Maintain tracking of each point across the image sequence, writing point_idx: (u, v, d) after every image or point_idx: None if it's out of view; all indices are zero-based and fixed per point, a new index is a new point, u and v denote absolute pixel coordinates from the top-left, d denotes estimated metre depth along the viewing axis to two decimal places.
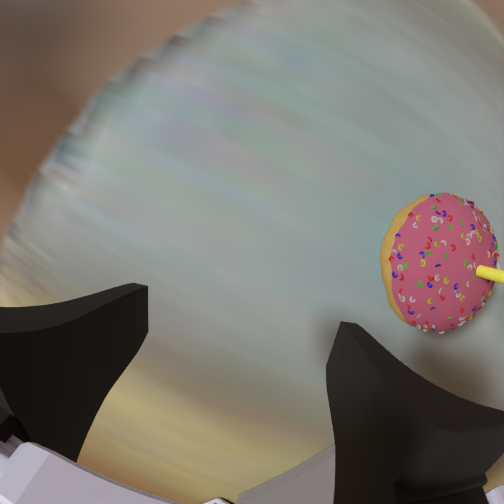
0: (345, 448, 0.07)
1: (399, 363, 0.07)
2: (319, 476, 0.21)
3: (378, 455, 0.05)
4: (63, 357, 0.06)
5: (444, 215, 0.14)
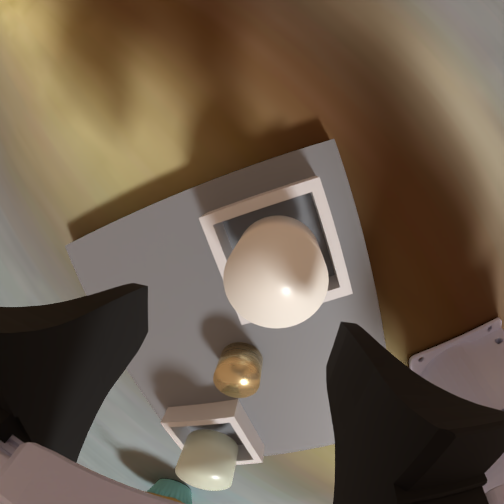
0: (345, 448, 0.07)
1: (399, 363, 0.07)
2: (288, 443, 0.23)
3: (378, 455, 0.05)
4: (63, 357, 0.06)
5: None
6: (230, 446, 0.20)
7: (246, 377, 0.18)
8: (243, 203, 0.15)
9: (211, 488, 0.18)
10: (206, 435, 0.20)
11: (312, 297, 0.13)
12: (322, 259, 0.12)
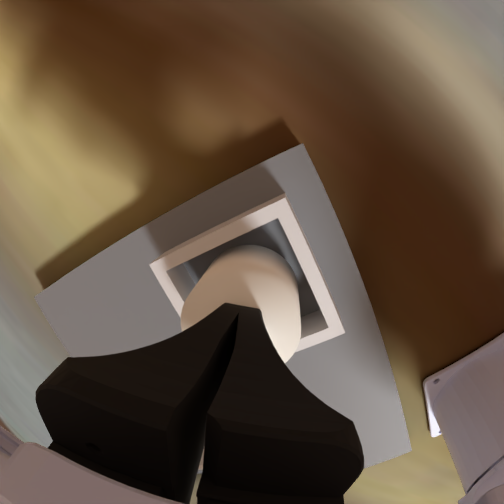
0: None
1: (269, 348, 0.07)
2: None
3: None
4: (201, 403, 0.06)
5: None
6: None
7: None
8: (196, 242, 0.12)
9: None
10: None
11: (284, 342, 0.11)
12: (289, 300, 0.10)
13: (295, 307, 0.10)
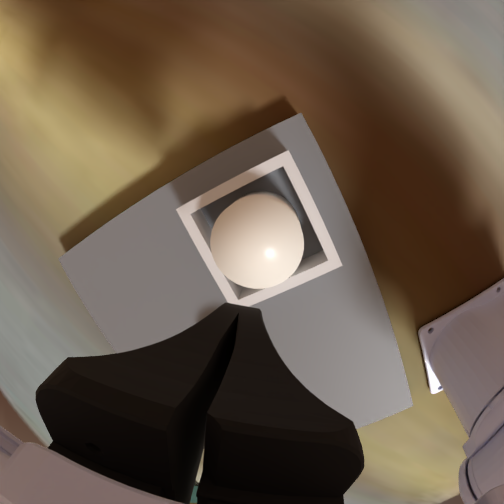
0: None
1: (269, 348, 0.07)
2: None
3: None
4: (201, 403, 0.06)
5: None
6: None
7: None
8: (216, 188, 0.15)
9: None
10: None
11: (291, 254, 0.14)
12: (294, 218, 0.14)
13: (298, 224, 0.14)
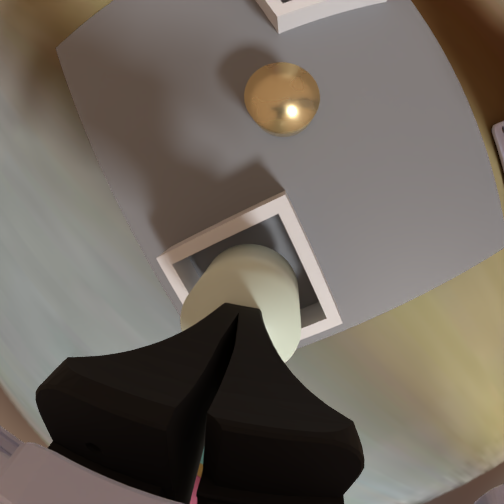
0: None
1: (269, 348, 0.07)
2: (374, 291, 0.15)
3: None
4: (201, 403, 0.06)
5: None
6: (285, 265, 0.13)
7: (297, 83, 0.10)
8: None
9: None
10: (239, 248, 0.13)
11: None
12: None
13: None
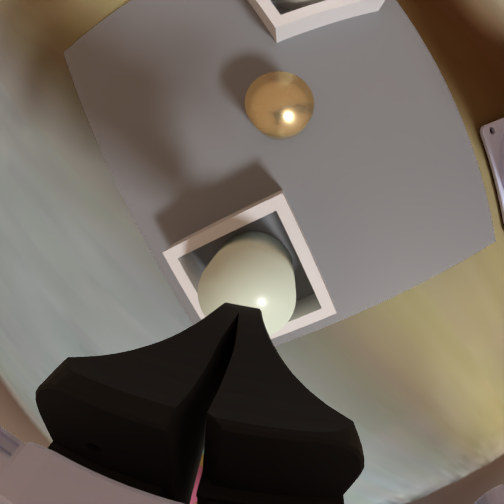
0: None
1: (269, 348, 0.07)
2: (366, 284, 0.16)
3: None
4: (201, 403, 0.06)
5: None
6: (283, 248, 0.15)
7: (293, 91, 0.12)
8: None
9: None
10: (244, 234, 0.16)
11: None
12: None
13: None
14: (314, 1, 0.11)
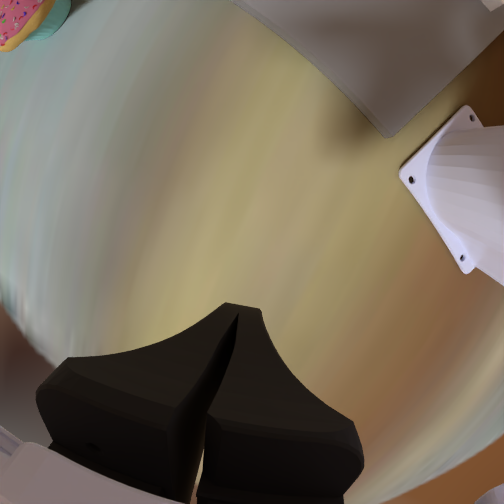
0: None
1: (269, 348, 0.07)
2: (294, 11, 0.14)
3: None
4: (201, 403, 0.06)
5: None
6: None
7: None
8: None
9: None
10: None
11: None
12: None
13: None
14: None
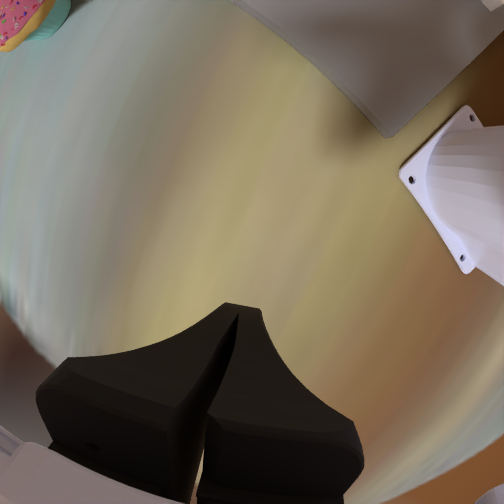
0: None
1: (269, 348, 0.07)
2: (294, 11, 0.14)
3: None
4: (201, 403, 0.06)
5: None
6: None
7: None
8: None
9: None
10: None
11: None
12: None
13: None
14: None
